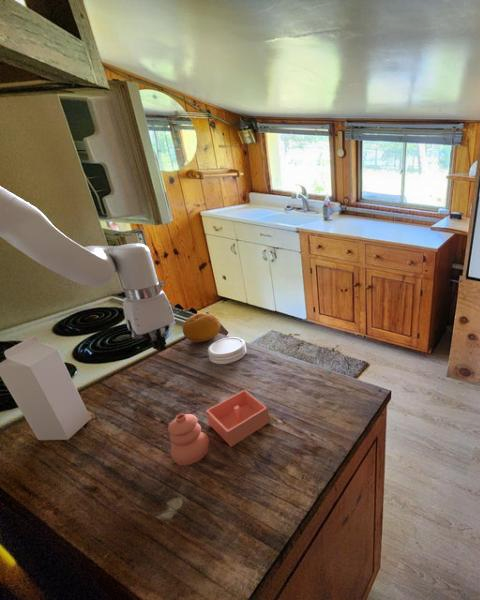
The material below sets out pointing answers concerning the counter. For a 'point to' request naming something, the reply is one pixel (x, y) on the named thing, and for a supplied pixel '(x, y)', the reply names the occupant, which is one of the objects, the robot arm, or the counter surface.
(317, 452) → the counter surface
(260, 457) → the counter surface
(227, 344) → the white round flat stack
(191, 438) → the pottery
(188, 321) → the fruit
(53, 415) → the milk
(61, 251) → the robot arm
